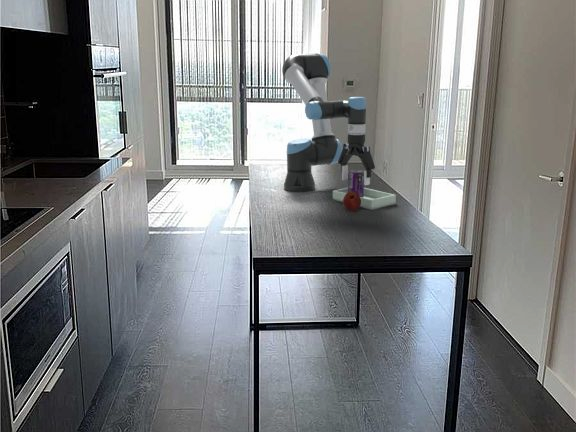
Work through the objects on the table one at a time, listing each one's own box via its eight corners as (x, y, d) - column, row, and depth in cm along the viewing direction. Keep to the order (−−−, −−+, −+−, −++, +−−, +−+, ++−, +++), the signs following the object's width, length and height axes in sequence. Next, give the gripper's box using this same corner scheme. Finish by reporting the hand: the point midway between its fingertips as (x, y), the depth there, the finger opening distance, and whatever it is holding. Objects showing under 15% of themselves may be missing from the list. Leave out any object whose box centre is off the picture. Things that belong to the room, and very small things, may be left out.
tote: (332, 199, 249) (332, 190, 248) (356, 194, 258) (356, 185, 257) (371, 209, 231) (371, 200, 230) (395, 203, 240) (395, 194, 239)
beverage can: (364, 199, 245) (364, 172, 241) (347, 199, 245) (348, 172, 242) (363, 195, 251) (364, 169, 248) (347, 195, 252) (348, 169, 249)
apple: (340, 211, 229) (340, 192, 226) (345, 207, 235) (345, 188, 233) (358, 213, 226) (358, 194, 224) (362, 208, 233) (363, 190, 231)
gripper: (330, 131, 248) (330, 179, 253) (371, 137, 229) (370, 188, 234) (342, 130, 252) (342, 176, 258) (384, 135, 233) (382, 185, 239)
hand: (355, 182), depth 246 cm, fingers open, 13 cm apart
